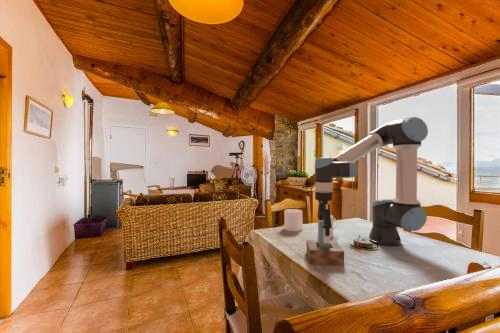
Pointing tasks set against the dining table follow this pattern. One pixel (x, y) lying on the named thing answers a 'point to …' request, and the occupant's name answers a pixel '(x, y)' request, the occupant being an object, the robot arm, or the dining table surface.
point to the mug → (332, 226)
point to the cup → (293, 220)
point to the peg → (321, 236)
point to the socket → (325, 253)
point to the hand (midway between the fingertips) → (324, 238)
